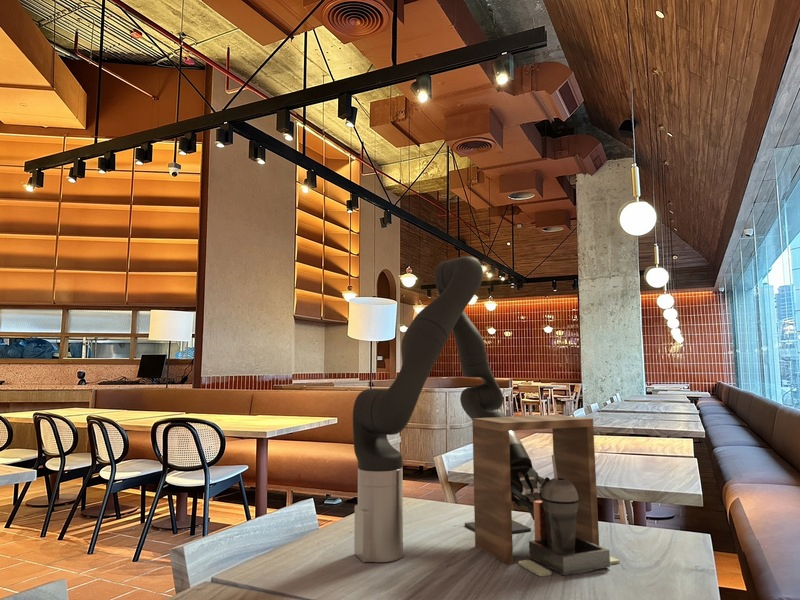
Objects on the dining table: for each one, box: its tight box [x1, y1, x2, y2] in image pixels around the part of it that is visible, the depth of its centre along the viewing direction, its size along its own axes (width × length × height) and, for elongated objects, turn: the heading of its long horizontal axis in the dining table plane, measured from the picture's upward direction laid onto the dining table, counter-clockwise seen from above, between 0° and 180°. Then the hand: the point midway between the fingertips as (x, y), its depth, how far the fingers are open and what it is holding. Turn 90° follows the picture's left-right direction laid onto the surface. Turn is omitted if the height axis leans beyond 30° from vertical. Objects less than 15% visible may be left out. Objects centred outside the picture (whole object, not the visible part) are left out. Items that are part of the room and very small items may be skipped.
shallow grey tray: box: [528, 500, 611, 576], centre depth 108 cm, size 11×13×10 cm
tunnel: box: [471, 414, 600, 565], centre depth 118 cm, size 23×12×27 cm, turn 112°
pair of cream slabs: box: [517, 555, 621, 577], centre depth 106 cm, size 18×7×1 cm, turn 112°
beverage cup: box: [541, 455, 579, 555], centre depth 109 cm, size 7×7×20 cm
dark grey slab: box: [464, 519, 532, 535], centre depth 130 cm, size 12×10×1 cm
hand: (542, 521), depth 114 cm, fingers closed
